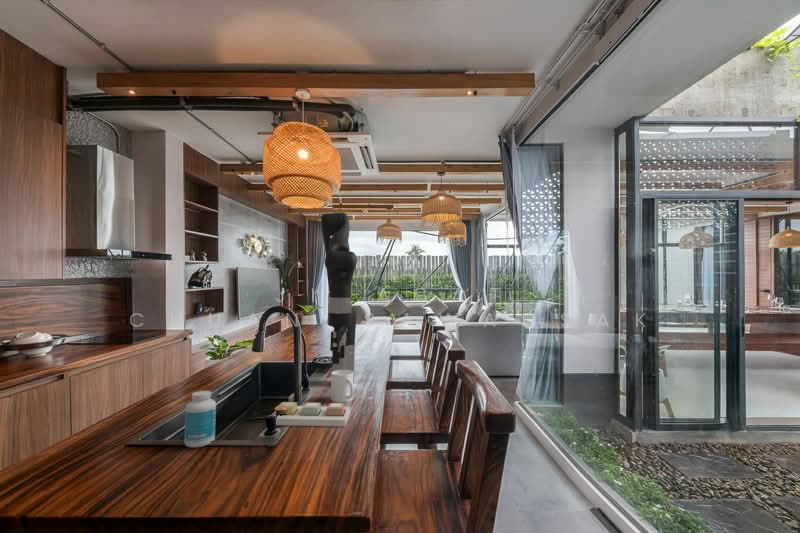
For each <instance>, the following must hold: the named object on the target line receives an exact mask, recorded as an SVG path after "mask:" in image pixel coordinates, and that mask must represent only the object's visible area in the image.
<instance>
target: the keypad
mask: <svg viewBox="0 0 800 533" xmlns="http://www.w3.org/2000/svg"><path fill="white" fill-rule="evenodd" d="M303 406H304V405H297V410H296V411H295V412H294V413H293V415H282V416H280V415H278V416H277V418H276V425H275V426H294V427H295V426H297V427H298V426H301V427H304V426H305V427H346V425H347V423H348V420H349V417H350V416H351V406H345V411H344V413H343V415H342V416H327V407H328V405H326V406H325V405H323V406H322V405H321V410H320V412H319V413H318V415H302V407H303ZM271 415H276V410H275V411H274V412H273V413H272V414H271Z"/></svg>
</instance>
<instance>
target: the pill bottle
mask: <svg viewBox="0 0 800 533" xmlns="http://www.w3.org/2000/svg"><path fill="white" fill-rule="evenodd" d="M211 397H212V391H211V390H198V391H195V392H192V394H191V401H189V402H188V403H187V404H186V406H185V418H184V420H185V421H184V439H183V440H184V442H183V443H184V445H185V446H186V447H188V448H201V447H205V446H207V445H210V444H211V443H213V442H214V441H215V438H216V420H217V419H216V417H217V402H216V401H215V399H213V398H211ZM211 441H213V442H211Z"/></svg>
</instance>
